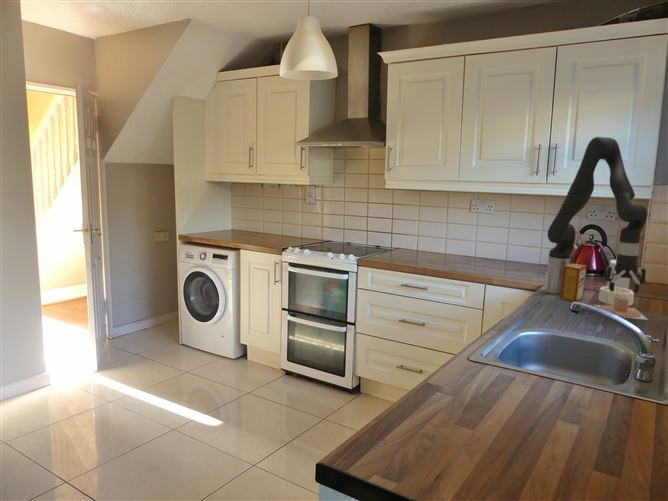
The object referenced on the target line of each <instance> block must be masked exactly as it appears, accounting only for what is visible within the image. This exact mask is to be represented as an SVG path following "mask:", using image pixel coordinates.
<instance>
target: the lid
mask: <svg viewBox="0 0 668 501" xmlns="http://www.w3.org/2000/svg"><path fill="white" fill-rule="evenodd" d="M600 308H604V309H607V310H609V311H612V312H614V313H616V314H618V315H620V316H622V317H621V318H623V317H631V318H630V319H634V318H633V317H640V316H641V314H642V312H641V311H640V310H637V309H636V308H635V309H636V310H635V309H633V308H634V307H630V306H628V299H626V298H623V297H615V299H614V305H610V304H603V305H601V306H600Z"/></svg>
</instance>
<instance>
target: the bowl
mask: <svg viewBox="0 0 668 501" xmlns="http://www.w3.org/2000/svg"><path fill="white" fill-rule="evenodd" d="M615 297H623V298H626V299H628V307H631V306H633V304H634V297H635V293H633V289H632V290H631V289H629V288H628V289H625V288H620V287H614V291H613V292H612V291H610V289H609V286H607V285H606V286H601V287H600V288H599V294H598V301H599V302H600V303H603V304H605V305H614V299H615Z"/></svg>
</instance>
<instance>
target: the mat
mask: <svg viewBox="0 0 668 501" xmlns="http://www.w3.org/2000/svg"><path fill="white" fill-rule="evenodd" d="M593 306H594V307H595V306H598V307H600V306H602V305H599V304H594V305H593ZM632 308H633V309H635V310H637V309H636V308H634V307H632ZM625 318H626V319H636V320H646V321H647V320H648V321H649V318H647V317H646V316H645V315H643V314H642V313H641V316H640V317H633V318H631V317H624V319H625Z"/></svg>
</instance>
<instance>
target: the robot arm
mask: <svg viewBox="0 0 668 501" xmlns="http://www.w3.org/2000/svg"><path fill="white" fill-rule="evenodd" d="M600 160H602V161H603V160H604V161H605V163H606V164H607V166H608V168H609V172H610V174H609V186H610V190H611V192H612V195H613V197H614V198H615V205H616V213H617V215H618V218H619V219H620V220H621V221H623V222H626V223H628V224H627V226H626V227H622V228H621V229H620V235H619V242H618V246H617V250H616V251H617V252H616V266H615V267H610V265H607V266H606V270H605V274H604V275H605V276H604V279H605V281H609V282H610V283H609V289H610V291H612V292H613V291H614V284H615V283H614V282H615V281H616V280H617V279H619V278H620V277H621V278H630V279H632V281H633V282H634V283H633V289H632V291H633V293H634V294H637V293H638V292H639V288H640V285H641V284H645V283H646V274H647V272H646V271H647V270H646V268H643V267H639V268H638V263H639V262H638V261H639V255H640V254H639V253H640V240H641V232H642V230H643V229H644V226H645V223H646V221H647V218H648V209H647V208H646V206H645V205H643V204H637V203H633V204H632V200H633V199H634V198H635V197H636V196H635V195H636V194H635V191H634V189H633V187H632V185H631V182H630V180H629V178H628V175H627V173H626V169H625V165H624V161H623V157H622V154H621V148H620V146H619V143H618V142H617V140H616V139H614V138H612V137H605V136H604V137H603V136H596V137H593V138H592V139H591V140H590V141H589V142H588V144H587V146H586V149H585V151H584V154H583V156H582V161H581V163H580V166H579V168H578V170H577V173H576V175H575V177H574V180H573V181H572V183H571V185H570V187H569V189H568V192H567V194H566V197H565V198H564V201H563V203H562V204H561V206H560V208H559V211H558V212H557V215H555V217H554V219H553V221H552V222H551V224H550V226H549V228H548V230H547V238H548V241H549V242H551V243H553V244H556V245H555V246H554V247H553V248H551V249H550V250H549V254H548V260H547V261H548V262H547V270H546V272H545V278H544V279H545V280H544V292H545V293H547V294H553V295H561V291H562V282H563V274H564V266H566V265H569V264H571V263H570V262H571V256H572V253H573V252H574V248H575V241H576V229H575V226H574V225H573V224H571V221H572V219H573V218H574V217H575V216H576V215H577V214H578V213H579V212H580V211H581V210H582V209H583V208H584V207H585V206H586V205H587V204H588V202H589V200H590V199H591V197H592V194H593V192H594V190H595V178H594V177H595V176H594V174H595V171H596V168H597V166H598V163H599V162H600ZM613 270H615V271H616V273H615V274H614V275H613V277H612V278H610V276H611V272H612V271H613ZM637 273H639V279H638V277H637V276H636V274H637Z"/></svg>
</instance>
